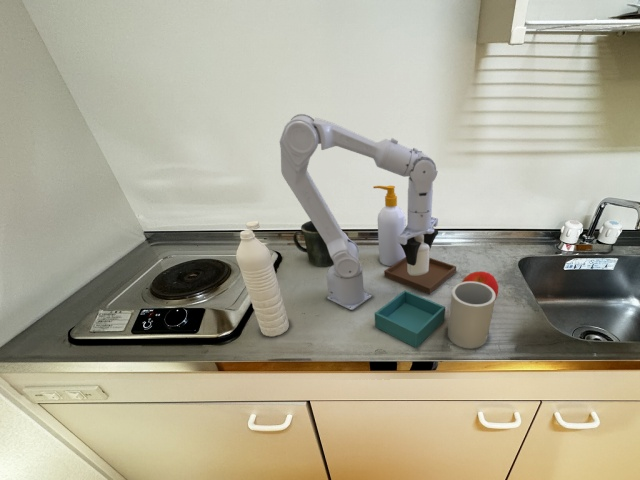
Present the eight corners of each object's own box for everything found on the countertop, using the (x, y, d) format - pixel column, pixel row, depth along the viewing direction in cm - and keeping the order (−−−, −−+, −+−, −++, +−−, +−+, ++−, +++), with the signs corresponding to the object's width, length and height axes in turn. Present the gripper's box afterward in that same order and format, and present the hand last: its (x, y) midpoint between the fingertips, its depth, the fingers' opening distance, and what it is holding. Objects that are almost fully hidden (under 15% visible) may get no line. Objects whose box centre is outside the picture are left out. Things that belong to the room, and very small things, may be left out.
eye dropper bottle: (427, 277, 83) (429, 234, 76) (406, 275, 83) (406, 233, 76) (429, 269, 86) (431, 227, 79) (408, 267, 87) (409, 226, 80)
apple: (488, 289, 85) (491, 258, 76) (501, 315, 79) (507, 285, 70) (455, 298, 85) (454, 268, 76) (466, 325, 80) (466, 296, 70)
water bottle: (286, 336, 74) (258, 237, 60) (258, 338, 74) (222, 239, 59) (293, 313, 81) (269, 220, 67) (267, 314, 81) (237, 221, 66)
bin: (375, 327, 77) (374, 313, 74) (404, 303, 85) (404, 290, 82) (416, 348, 71) (417, 333, 68) (444, 320, 79) (445, 306, 76)
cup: (447, 320, 78) (451, 280, 71) (484, 322, 77) (492, 282, 70) (448, 347, 71) (452, 305, 64) (489, 349, 70) (498, 307, 63)
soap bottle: (379, 253, 108) (376, 181, 94) (406, 254, 107) (407, 182, 93) (374, 265, 101) (370, 190, 87) (403, 267, 100) (403, 191, 86)
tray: (384, 276, 96) (384, 270, 94) (413, 257, 106) (413, 252, 104) (429, 294, 88) (429, 288, 87) (455, 272, 98) (456, 266, 96)
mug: (339, 268, 100) (334, 232, 93) (293, 267, 100) (285, 232, 93) (344, 252, 109) (340, 218, 102) (302, 252, 109) (295, 218, 102)
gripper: (415, 222, 68) (414, 276, 76) (449, 204, 77) (445, 253, 85) (390, 215, 72) (391, 267, 79) (425, 198, 81) (423, 246, 89)
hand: (417, 259), depth 83 cm, fingers closed on eye dropper bottle, 5 cm apart
